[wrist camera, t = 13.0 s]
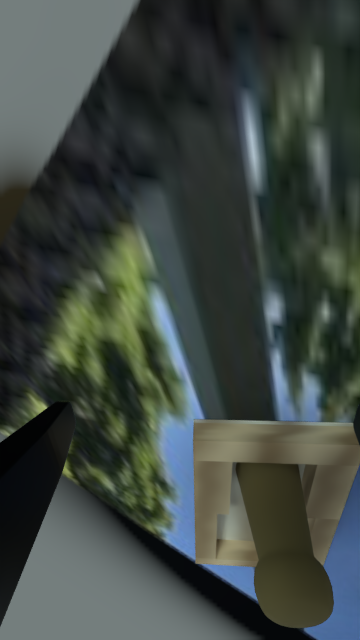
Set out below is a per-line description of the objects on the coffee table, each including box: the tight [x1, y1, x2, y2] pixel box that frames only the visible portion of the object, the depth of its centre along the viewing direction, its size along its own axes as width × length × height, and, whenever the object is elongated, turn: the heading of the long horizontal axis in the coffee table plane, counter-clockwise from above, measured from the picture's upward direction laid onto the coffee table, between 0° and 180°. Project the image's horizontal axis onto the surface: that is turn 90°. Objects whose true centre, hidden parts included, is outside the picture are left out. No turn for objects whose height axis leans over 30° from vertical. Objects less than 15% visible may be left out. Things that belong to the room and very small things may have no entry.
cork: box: [235, 462, 334, 628], centre depth 24 cm, size 6×6×11 cm
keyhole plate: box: [193, 419, 360, 567], centre depth 30 cm, size 14×20×2 cm
